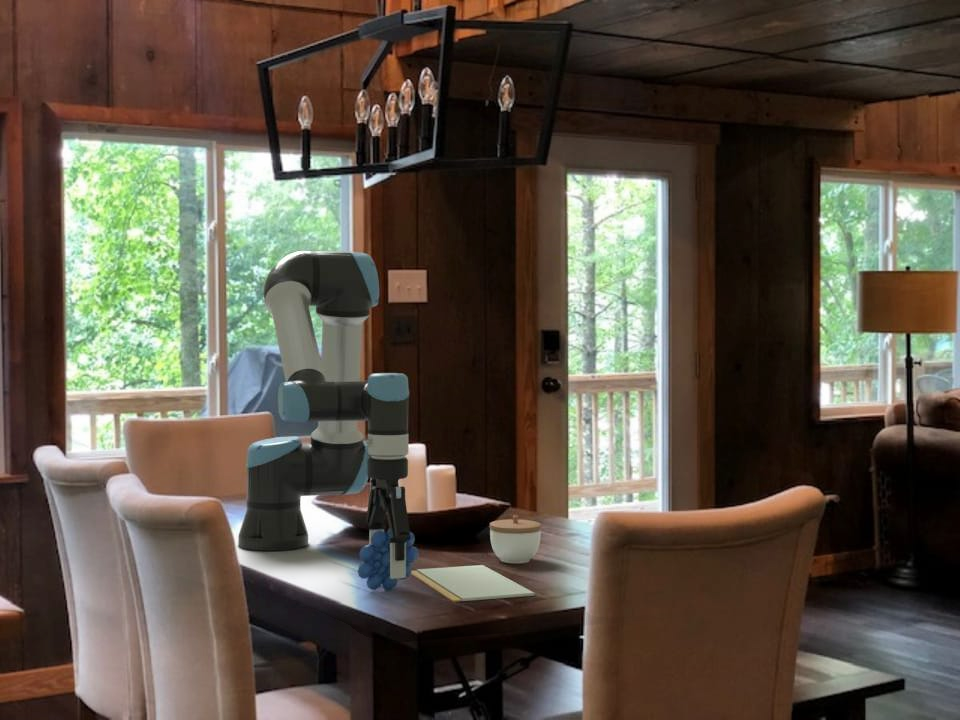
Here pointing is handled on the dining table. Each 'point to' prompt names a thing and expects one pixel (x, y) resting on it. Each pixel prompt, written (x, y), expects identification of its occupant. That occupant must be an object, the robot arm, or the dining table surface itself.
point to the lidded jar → (515, 539)
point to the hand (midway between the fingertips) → (386, 570)
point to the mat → (474, 583)
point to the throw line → (435, 586)
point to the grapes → (383, 561)
